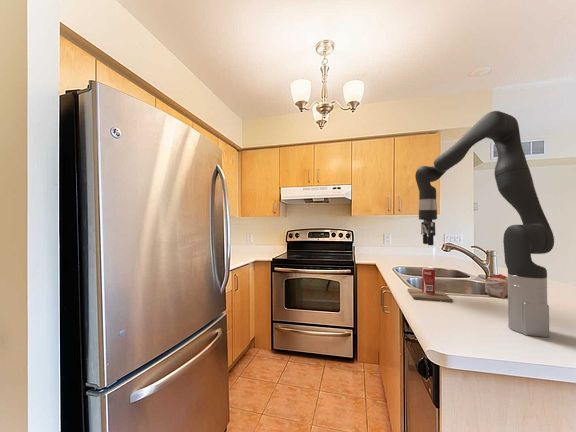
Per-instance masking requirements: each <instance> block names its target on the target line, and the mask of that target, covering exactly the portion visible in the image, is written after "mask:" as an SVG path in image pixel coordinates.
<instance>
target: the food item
mask: <svg viewBox="0 0 576 432" xmlns="http://www.w3.org/2000/svg"><path fill="white" fill-rule="evenodd" d="M491 276H492V277H491V278H486V281H485V283H484V284H485V286H484V289H485V293H486V294H487V295H488V296H490V297H493V298H499V299H505V298H506V297H508V276H507V275H503V274H501V273H500V274H494V273H492V274H491Z"/></svg>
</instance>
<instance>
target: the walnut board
mask: <svg viewBox="0 0 576 432" xmlns="http://www.w3.org/2000/svg"><path fill="white" fill-rule="evenodd" d="M407 292H408V293H409V294H410V296H411V298H412V300H416V301H428V302H440V301H442V303H453V301H454V300H453V298H451V296H449V295H448V294H446V293H445V292H444V291H442V290H436V289H435V294H434V295H426V294H423V292H422V288H421V289H418V288H407Z"/></svg>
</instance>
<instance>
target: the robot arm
mask: <svg viewBox="0 0 576 432" xmlns="http://www.w3.org/2000/svg"><path fill="white" fill-rule="evenodd" d="M485 139H488V140H489V139H490V140H492V141H493V143H494V145H495V148H496V150H497V151H496V152H497V161H496V163H495V167H494V180H495V183H496V187H497V189H498V190H497V191H498V193H499V194H500V195H501V197H503V199H505V201H507V203H508V204H510V205H511V206H512V208H513V209H514V210H516V212H517V213H518V215H519V217H520V220H521V221H522V224H513V225H512V224H511V225H509V226H508V227H506V229H505V231H504V234H503V237H502V238H503V255H504V264H505V266H506V268H507V277H508V296H507V317H508V318H507V321H508V327H509V329H511V330H513V331H515V332H517V333H520V334H523V335H525V336H533V337H544V338H550V306H549V304H548V272H547V269H546V267H545V266H541V265H538V264H537V263H535V262H534V261H533V260H532V255H543V254H544V255H545V254H549V253H550V252H551V251H552V250H553V248H554V246H555V235H554V232H553V230H552V228H551V225H550V224H549V221H548V218H547V217H546V215H545V213H544V210H543V208H542V206H541V203H540V200H539V197H538V194H537V192H536V188H535V185H534V179H533V177H532V173H531V169H530V167H529V165H528V160H527V158H526V155H525V152H524V149H523V146H522V140H521V139H522V138H521V134H520V127H519V122H518V120H517V119H516V117H514V116H513V115H511V114H508V113H505V112H503V111H500V110H493V111H490V112H487V113H486V114H485V115H484V116H481V118H480V119H479V120H478V121H477V122H476V123H475V124H474V125H473V126H472V127H471V128H470V129H469V130H468V131H467V132H466V133H465V134H464V135H462V137H461V138H460V139H458V140H457V142H455V143H454V144H453V145H452V146H451V147H449V148H448V149H447V150H446V151H444V152H443V153H441V154H440V155H439V156H437V157H436V158H435V159H434V161H433V165H432V166H429V165H422V166H418V168H417V170H416V171H415V175H414V177H415V182H416V186H417V189H418V191H419V193H418V194H419V195H418V220H420V221H421V220H422V222H421V223H420V227H421V230H420V232H421V236H422V244H424V245H427V246H434V244H435V243H434V237H435V236H436V221H435V220H437V219H438V203H437V189H436V187H434V186H433V185H432V184H431V183H434V182H436V181H439V179H441V177H443V175H445V174H446V172H447V171H448V170H450V169H452V168H453V167H454V166H456V165H458V164H459V163H460V162H461V161H462V160H464V158H465V157H466V155H467V153H468V152H469V151H470V149H471V148H472V147H473V146H475V145H476V144H477V143H478V142H480V141H483V140H485Z"/></svg>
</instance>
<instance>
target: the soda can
mask: <svg viewBox="0 0 576 432" xmlns="http://www.w3.org/2000/svg"><path fill="white" fill-rule="evenodd" d="M421 281H422V282H421V289H422V292H423V294H426V295H434V294H435V290H436V271H435V267H432V266H422V270H421Z"/></svg>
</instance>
